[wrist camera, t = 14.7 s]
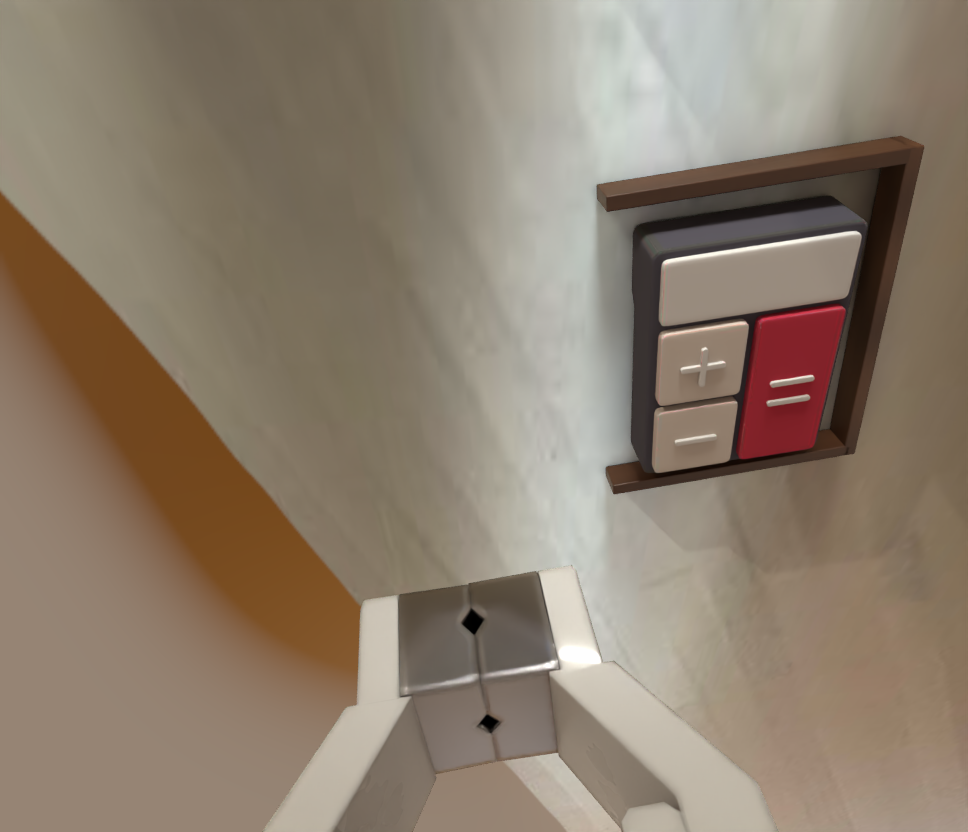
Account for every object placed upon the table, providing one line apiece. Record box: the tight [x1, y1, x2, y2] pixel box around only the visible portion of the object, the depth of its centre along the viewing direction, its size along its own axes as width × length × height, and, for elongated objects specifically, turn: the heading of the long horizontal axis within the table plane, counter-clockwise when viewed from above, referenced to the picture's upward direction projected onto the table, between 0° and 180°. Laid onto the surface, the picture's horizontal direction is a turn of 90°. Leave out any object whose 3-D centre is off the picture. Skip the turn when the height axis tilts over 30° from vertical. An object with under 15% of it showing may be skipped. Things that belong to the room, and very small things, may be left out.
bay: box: [597, 136, 924, 494], centre depth 42 cm, size 20×16×2 cm
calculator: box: [631, 196, 868, 473], centre depth 41 cm, size 11×4×15 cm
